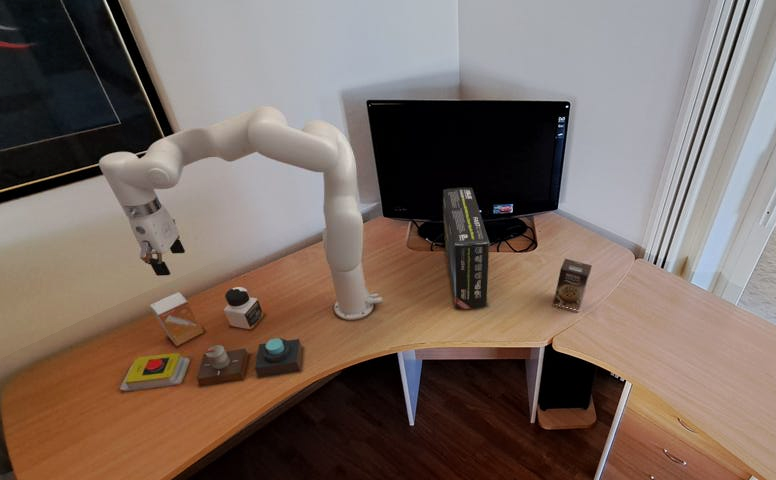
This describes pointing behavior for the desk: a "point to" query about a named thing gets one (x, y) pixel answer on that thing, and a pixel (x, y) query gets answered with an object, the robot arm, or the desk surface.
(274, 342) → the teal button cap
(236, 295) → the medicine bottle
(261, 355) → the button housing
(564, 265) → the coffee box
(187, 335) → the small box
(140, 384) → the emergency button
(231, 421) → the desk surface
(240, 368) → the rotary knob switch
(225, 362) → the dial
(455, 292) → the router box
